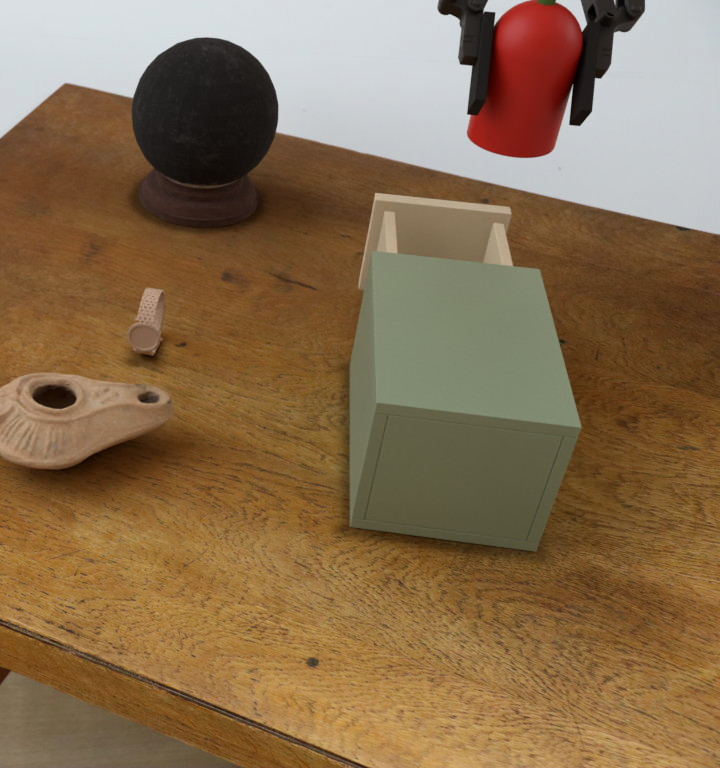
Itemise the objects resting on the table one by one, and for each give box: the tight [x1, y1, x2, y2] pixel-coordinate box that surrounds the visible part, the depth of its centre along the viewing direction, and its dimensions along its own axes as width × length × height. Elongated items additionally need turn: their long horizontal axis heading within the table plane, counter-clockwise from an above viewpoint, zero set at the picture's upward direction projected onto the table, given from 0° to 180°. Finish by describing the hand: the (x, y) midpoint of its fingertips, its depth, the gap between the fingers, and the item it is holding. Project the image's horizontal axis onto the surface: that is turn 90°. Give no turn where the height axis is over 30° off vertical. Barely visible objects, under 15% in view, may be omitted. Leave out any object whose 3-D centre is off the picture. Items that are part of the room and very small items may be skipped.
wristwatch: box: [126, 287, 167, 356], centre depth 83 cm, size 3×5×5 cm, turn 167°
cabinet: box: [349, 251, 582, 553], centre depth 74 cm, size 18×12×10 cm, turn 172°
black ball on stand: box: [131, 36, 279, 229], centre depth 100 cm, size 13×13×15 cm
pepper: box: [466, 0, 583, 159], centre depth 79 cm, size 6×6×11 cm
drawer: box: [358, 192, 514, 291], centre depth 85 cm, size 22×10×8 cm, turn 172°
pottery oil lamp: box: [0, 372, 175, 471], centre depth 73 cm, size 9×12×7 cm
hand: (528, 112), depth 77 cm, fingers closed on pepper, 6 cm apart
